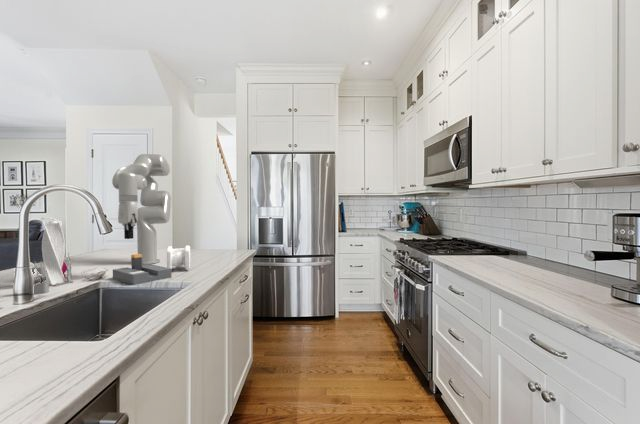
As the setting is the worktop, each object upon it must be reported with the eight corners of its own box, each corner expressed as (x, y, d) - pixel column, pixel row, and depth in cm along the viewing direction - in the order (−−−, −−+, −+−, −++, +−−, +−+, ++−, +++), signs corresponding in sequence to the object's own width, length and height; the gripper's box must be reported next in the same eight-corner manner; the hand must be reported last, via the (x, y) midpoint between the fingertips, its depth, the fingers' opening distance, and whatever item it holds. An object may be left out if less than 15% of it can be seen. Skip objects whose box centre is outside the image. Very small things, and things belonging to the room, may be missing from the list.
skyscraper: (51, 287, 127) (50, 217, 126) (37, 285, 129) (35, 217, 129) (73, 282, 135) (71, 216, 135) (58, 281, 137) (57, 216, 137)
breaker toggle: (131, 271, 145) (131, 254, 144) (138, 270, 147) (138, 253, 147) (134, 272, 143) (134, 255, 143) (142, 271, 146) (141, 254, 145)
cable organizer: (168, 267, 166) (168, 245, 165) (190, 266, 170) (190, 244, 169) (167, 273, 152) (166, 249, 152) (190, 271, 156) (190, 247, 156)
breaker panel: (112, 278, 142) (112, 269, 141) (149, 272, 155) (149, 263, 154) (133, 284, 130) (133, 274, 130) (171, 277, 143) (171, 268, 143)
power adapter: (32, 292, 119) (31, 260, 119) (49, 291, 121) (48, 259, 121) (27, 294, 116) (26, 262, 116) (45, 293, 118) (44, 261, 118)
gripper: (112, 199, 150) (113, 238, 150) (126, 198, 141) (127, 240, 141) (129, 200, 156) (130, 237, 156) (144, 199, 147) (145, 238, 147)
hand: (128, 238), depth 148 cm, fingers closed
